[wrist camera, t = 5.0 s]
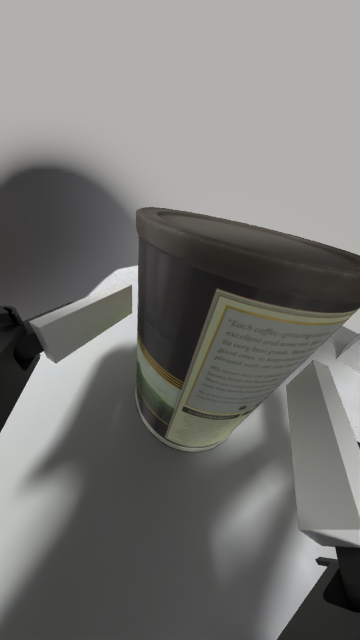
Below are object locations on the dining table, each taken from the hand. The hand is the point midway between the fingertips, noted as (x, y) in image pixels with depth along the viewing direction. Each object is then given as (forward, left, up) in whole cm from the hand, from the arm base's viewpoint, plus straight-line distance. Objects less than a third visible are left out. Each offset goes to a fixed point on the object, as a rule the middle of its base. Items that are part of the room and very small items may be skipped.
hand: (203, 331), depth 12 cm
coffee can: (0, 0, -8) cm, 8 cm away
